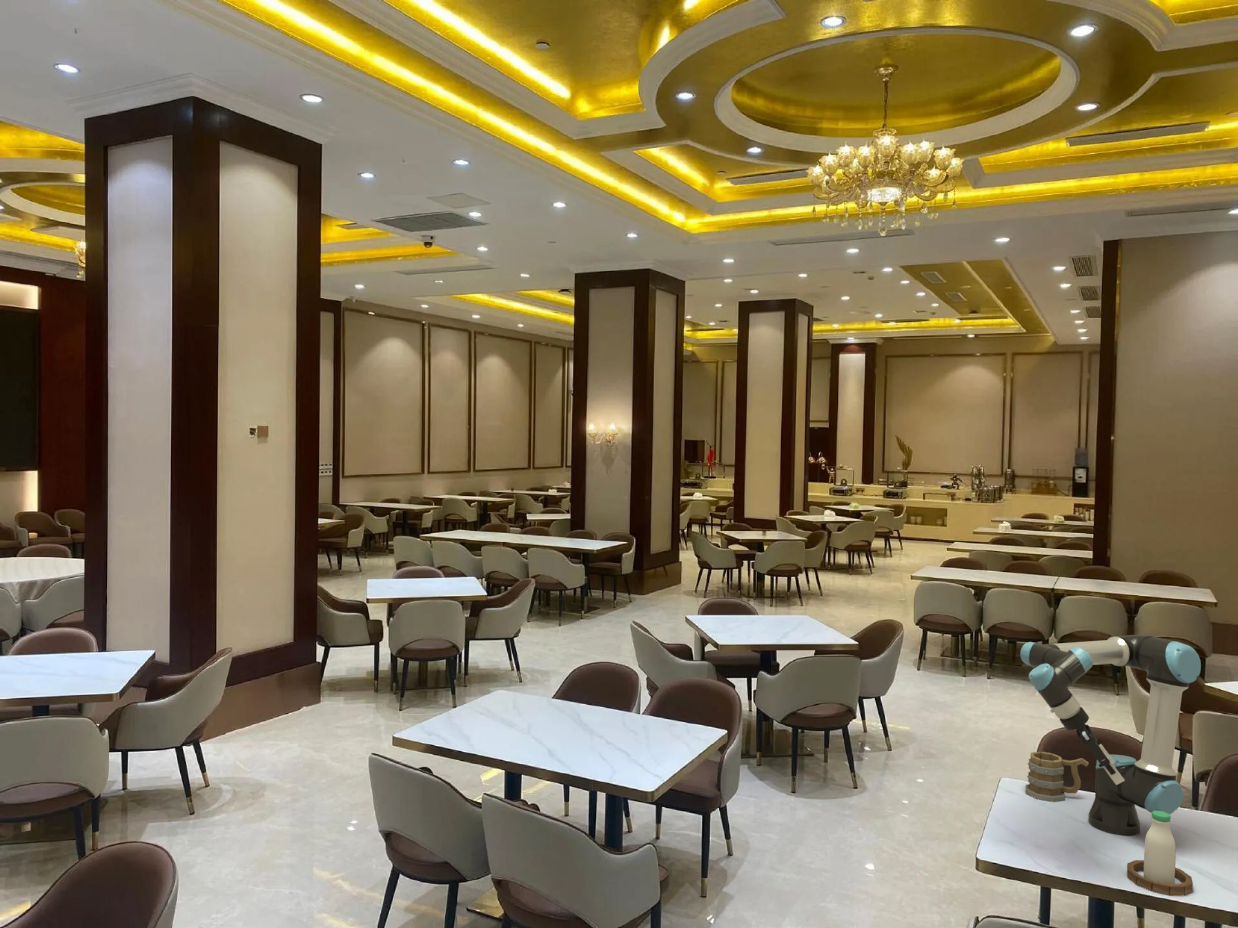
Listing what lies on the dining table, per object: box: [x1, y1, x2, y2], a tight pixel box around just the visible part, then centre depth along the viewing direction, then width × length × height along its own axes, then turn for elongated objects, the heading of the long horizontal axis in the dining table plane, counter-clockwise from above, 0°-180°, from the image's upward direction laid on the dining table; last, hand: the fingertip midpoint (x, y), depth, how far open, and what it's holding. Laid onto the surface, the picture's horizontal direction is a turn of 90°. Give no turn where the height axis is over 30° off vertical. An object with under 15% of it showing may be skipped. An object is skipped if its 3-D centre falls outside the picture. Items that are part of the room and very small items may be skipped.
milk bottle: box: [1143, 811, 1177, 884], centre depth 258 cm, size 8×8×20 cm
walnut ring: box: [1126, 859, 1194, 896], centre depth 258 cm, size 16×16×2 cm
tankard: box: [1025, 751, 1089, 803], centre depth 321 cm, size 20×13×15 cm, turn 66°
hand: (1115, 773), depth 265 cm, fingers open, 13 cm apart
